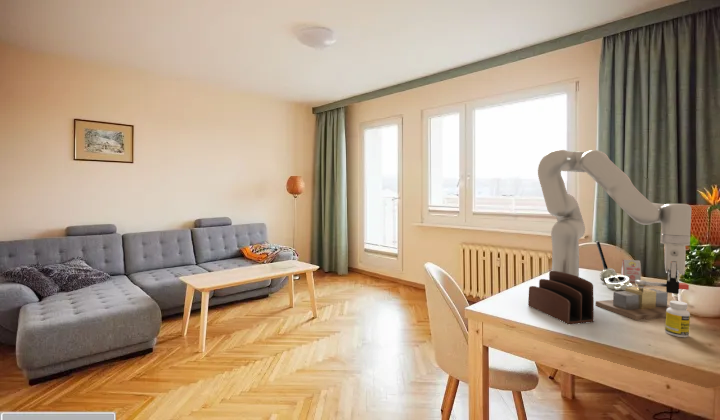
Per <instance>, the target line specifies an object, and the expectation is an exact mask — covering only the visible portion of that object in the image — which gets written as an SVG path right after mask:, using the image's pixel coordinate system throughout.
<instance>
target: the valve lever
mask: <svg viewBox="0 0 720 420" xmlns="http://www.w3.org/2000/svg"><path fill="white" fill-rule="evenodd" d="M634 284H635V286H636V285H637V286H638V285H640V286H644V287H646V286H653V287H663V288H664V287H667V282H661V281H660V282H659V281H647V280H643V279H641V280H635V282H634ZM689 287H690V285H689V284H688V283H686V282H679V290H688V291H689Z"/></svg>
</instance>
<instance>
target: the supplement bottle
mask: <svg viewBox="0 0 720 420" xmlns="http://www.w3.org/2000/svg"><path fill="white" fill-rule="evenodd" d="M669 305H670V306H671V307H669V308H667V310H666V317H665V325H664V326H665V327H664V328H665V329H664V330H665V333H666V334H668V335H670V336H673V337H678V338H688V337H689V335H690V325H691V324H690V323H691V314H690V311H689V310H687V309H688V306H689V305H688V303H687V302H684V301H681V300H670V301H669Z"/></svg>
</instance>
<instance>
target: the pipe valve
mask: <svg viewBox="0 0 720 420" xmlns="http://www.w3.org/2000/svg"><path fill="white" fill-rule="evenodd" d="M668 294H669V293H667V292H666V291H662V290H659V289H655V288H645V286H640V285H637V286H632V287H628V288H626V289H625V290H619V291H614V292H613V299H612V300H613V306H616V307H619V308H622V309H625V310H631V309H651V308H656V307H664V306H667V305H668V296H669V295H668Z"/></svg>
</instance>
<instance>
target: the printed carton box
mask: <svg viewBox="0 0 720 420" xmlns="http://www.w3.org/2000/svg"><path fill="white" fill-rule="evenodd" d="M641 265H642V264H641V260H636V259H635V260H634V259H622V262H621V275H620V276H626V277H628V278H629V281H630V283H635V280H642V279H641V276H642V266H641Z"/></svg>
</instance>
